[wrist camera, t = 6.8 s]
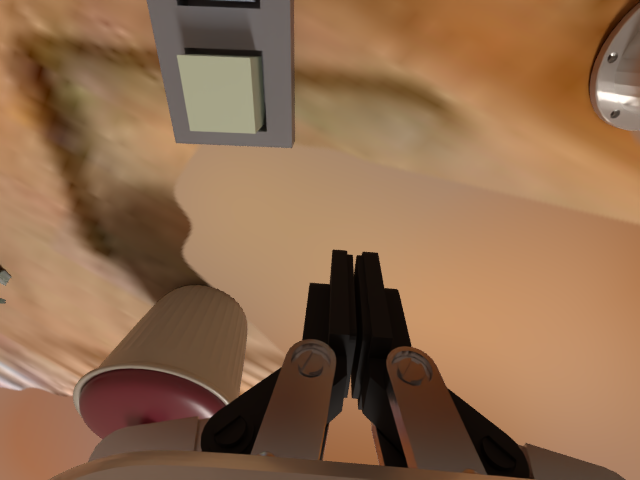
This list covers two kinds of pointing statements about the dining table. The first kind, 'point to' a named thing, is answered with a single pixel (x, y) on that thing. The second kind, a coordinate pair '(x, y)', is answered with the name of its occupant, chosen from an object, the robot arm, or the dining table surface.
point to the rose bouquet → (4, 280)
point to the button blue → (240, 0)
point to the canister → (169, 364)
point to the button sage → (223, 92)
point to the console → (230, 39)
